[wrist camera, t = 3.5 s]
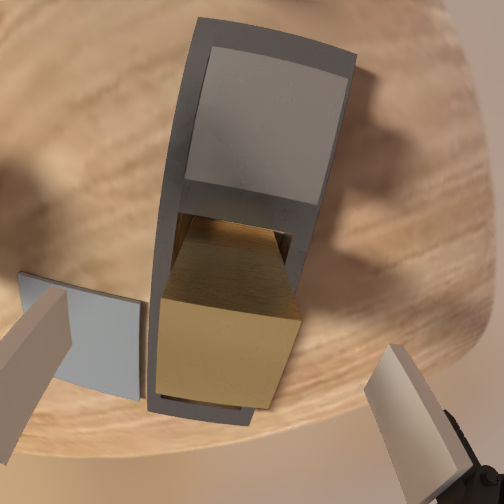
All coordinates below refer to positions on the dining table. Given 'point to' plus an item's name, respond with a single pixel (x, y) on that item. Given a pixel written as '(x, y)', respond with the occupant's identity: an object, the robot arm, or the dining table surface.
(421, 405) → the robot arm
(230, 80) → the block
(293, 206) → the grey block holder tray
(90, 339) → the mat
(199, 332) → the block
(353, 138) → the dining table surface
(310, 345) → the dining table surface
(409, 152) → the dining table surface
